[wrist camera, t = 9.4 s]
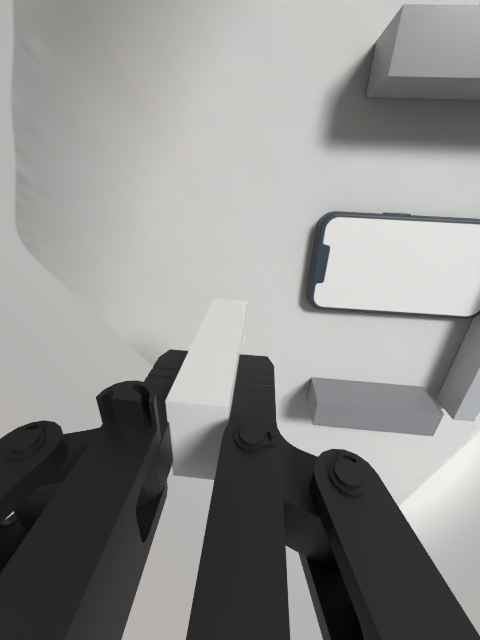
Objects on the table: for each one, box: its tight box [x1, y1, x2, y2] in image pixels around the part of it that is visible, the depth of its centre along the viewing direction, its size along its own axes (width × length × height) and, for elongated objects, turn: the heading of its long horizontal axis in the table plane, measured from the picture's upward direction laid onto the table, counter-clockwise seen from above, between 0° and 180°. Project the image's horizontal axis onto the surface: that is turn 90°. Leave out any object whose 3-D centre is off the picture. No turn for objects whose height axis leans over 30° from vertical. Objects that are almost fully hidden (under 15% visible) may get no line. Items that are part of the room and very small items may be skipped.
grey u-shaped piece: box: [308, 5, 480, 436], centre depth 23 cm, size 31×16×4 cm, turn 178°
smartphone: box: [307, 211, 480, 319], centre depth 24 cm, size 9×2×16 cm
